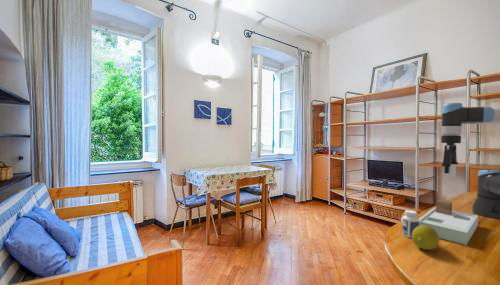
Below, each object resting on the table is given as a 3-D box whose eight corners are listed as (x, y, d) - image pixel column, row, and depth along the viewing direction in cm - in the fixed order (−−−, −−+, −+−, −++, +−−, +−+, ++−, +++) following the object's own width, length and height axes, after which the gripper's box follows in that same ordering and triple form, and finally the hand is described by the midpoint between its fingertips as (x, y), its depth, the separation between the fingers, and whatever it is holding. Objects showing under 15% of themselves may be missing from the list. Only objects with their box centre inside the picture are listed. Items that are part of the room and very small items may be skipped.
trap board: (433, 216, 121) (434, 207, 121) (477, 225, 109) (478, 215, 109) (415, 231, 102) (416, 220, 102) (466, 245, 90) (466, 232, 90)
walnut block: (438, 210, 119) (439, 199, 119) (451, 212, 115) (452, 202, 115) (436, 212, 115) (436, 201, 115) (449, 214, 112) (449, 204, 112)
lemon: (431, 256, 81) (432, 233, 80) (405, 247, 87) (406, 225, 87) (444, 248, 87) (445, 226, 86) (419, 240, 93) (420, 219, 93)
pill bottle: (419, 235, 98) (420, 211, 97) (416, 239, 94) (418, 214, 93) (403, 231, 101) (404, 208, 101) (400, 235, 97) (401, 211, 97)
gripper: (446, 135, 130) (445, 174, 131) (435, 134, 113) (434, 180, 114) (465, 135, 124) (463, 176, 125) (456, 135, 108) (454, 182, 109)
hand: (449, 178), depth 120 cm, fingers open, 12 cm apart
